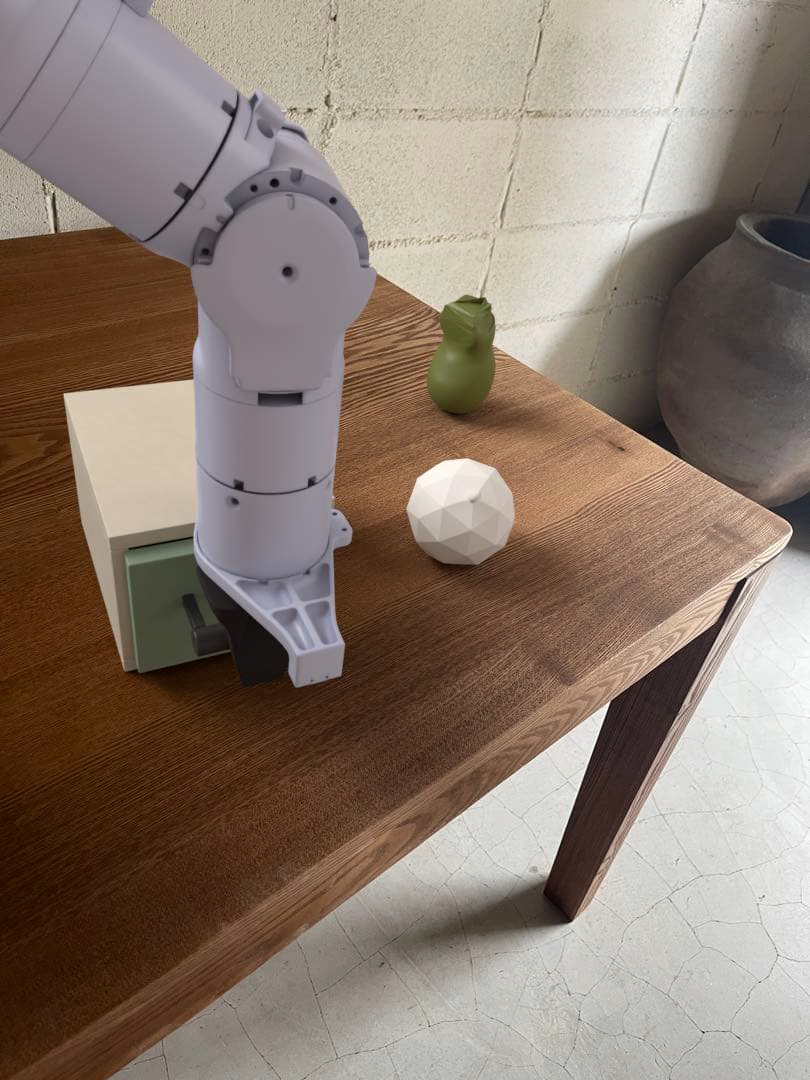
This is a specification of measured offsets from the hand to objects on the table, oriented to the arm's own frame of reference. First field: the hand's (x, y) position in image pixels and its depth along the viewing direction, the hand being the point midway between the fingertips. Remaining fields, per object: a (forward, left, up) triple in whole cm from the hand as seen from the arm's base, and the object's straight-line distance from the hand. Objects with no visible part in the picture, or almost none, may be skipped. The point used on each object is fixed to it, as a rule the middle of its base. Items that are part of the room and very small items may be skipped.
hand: (259, 673), depth 44 cm
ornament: (+17, +10, -4) cm, 20 cm away
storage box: (0, +13, -4) cm, 13 cm away
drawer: (0, +9, -3) cm, 9 cm away
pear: (+26, +27, -4) cm, 37 cm away
